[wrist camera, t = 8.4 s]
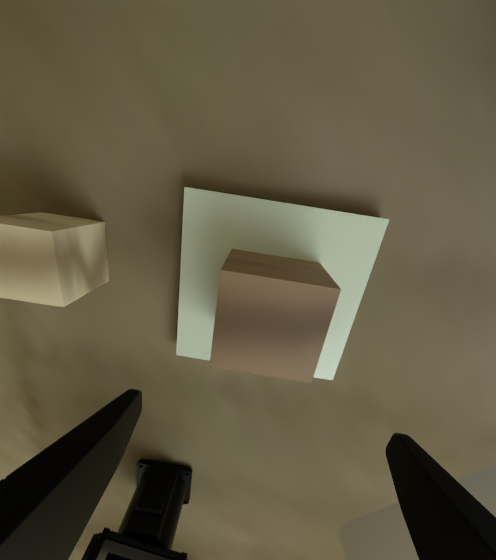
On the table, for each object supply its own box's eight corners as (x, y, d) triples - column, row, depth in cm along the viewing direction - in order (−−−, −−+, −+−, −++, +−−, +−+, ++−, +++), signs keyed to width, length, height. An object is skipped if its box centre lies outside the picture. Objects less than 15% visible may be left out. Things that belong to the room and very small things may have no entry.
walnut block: (299, 337, 20) (311, 383, 15) (222, 324, 20) (209, 366, 15) (320, 263, 17) (341, 289, 13) (231, 248, 17) (220, 269, 13)
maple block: (109, 280, 20) (63, 307, 16) (52, 271, 20) (-11, 295, 16) (105, 221, 18) (52, 231, 14) (42, 212, 18) (-33, 218, 14)
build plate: (329, 370, 22) (332, 380, 21) (180, 346, 22) (176, 355, 21) (381, 217, 17) (389, 219, 16) (189, 187, 17) (184, 187, 16)
